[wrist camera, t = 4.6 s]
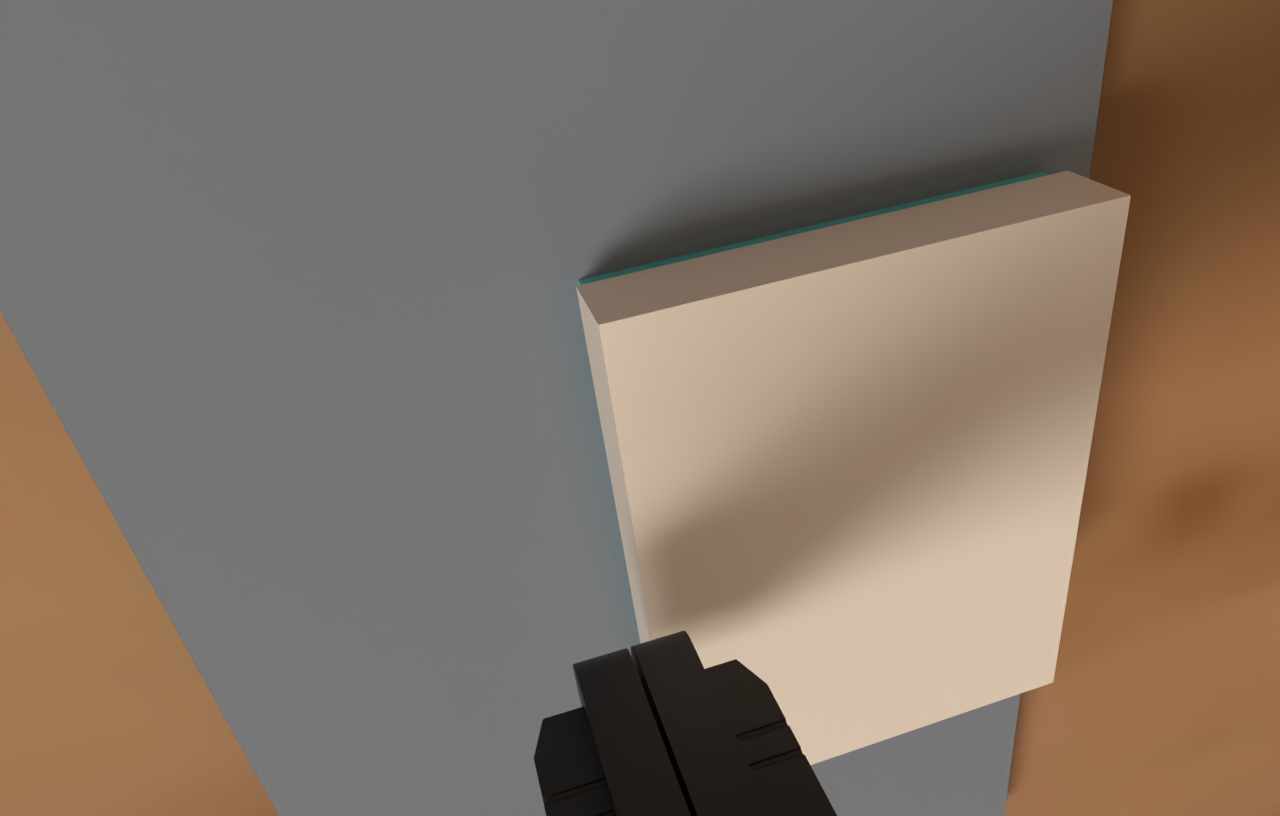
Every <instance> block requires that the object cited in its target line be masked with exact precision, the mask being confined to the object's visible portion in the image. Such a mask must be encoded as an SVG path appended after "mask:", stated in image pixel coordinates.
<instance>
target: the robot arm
mask: <svg viewBox="0 0 1280 816" xmlns="http://www.w3.org/2000/svg"><path fill="white" fill-rule="evenodd" d="M573 670H574V675H575V679H576V684H577V688H578V693H579V697H580V701H581V706H582V707H580V708H577V709H574V710H570V711H567V712H564V713H561V714H557V715H554V716H551V717H548V718H544V719H543V721H542V725H541V729H540V733H539V738H538V742H537V746H536V750H535V755H534V762H535V766H536V771H537V776H538V780H539V785H540V789H541V794H542V798H543V802H544V808H545V812H546V816H837V814H836V813H835V811H834V809H833V807H832V805H831V803H830V801H829V799H828V797H827V796H826V794H825V792H824V790H823V788H822V786H821V784H820V782H819V780H818V779H817V777H816V775H815V773H814V771H813V769H812V767H811V765H810V764H809V762H808V760H807V758H806V756H805V754H804V755H803V753H802V751H801V747H800V745H799V743H798V741H797V739H796V737H795V735H794V733H793V732H792V730H791V728H790V726H788V725H787V722H786V718H785V716H784V715H783V713H782V711H781V709H780V707H779V705H778V703H777V701H776V699H775V698H774V696H773V694H772V692H771V690H770V688H769V686H768V684H766V683H765V682H764V681H763V680H762V679H760V678H759V677H758V676H757V675H755V674H754V673H753V672H752V671H750V670H749V669H748V668H747V667H745V666H744V665H743V664H742V663H740V662H739V661H738V660H737V659H735V660H732V661H728V662H725V663H722V664H719V665H715V666H712V667H709V668H706V669H704V667H703V665H702V663H701V660H700V658H699V656H698V654H697V652H696V650H695V647H694V645H693V643H692V641H691V639H690V637H689V635H688V634H687V632H686V631H681V632H677V633H674V634H671V635H667V636H664V637H661V638H657V639H654V640H651V641H647V642H644V643H641V644H637V645H634V646H631V655H630V652H629V650H628V649H627V648H625V649H621V650H618V651H615V652H611V653H608V654H605V655H601V656H598V657H595V658H591V659H588V660H585V661H581V662H578V663H575V664H573Z"/></svg>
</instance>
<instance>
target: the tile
mask: <svg viewBox="0 0 1280 816" xmlns="http://www.w3.org/2000/svg"><path fill="white" fill-rule="evenodd" d="M1130 198H1131V195H1129V194H1126V193H1124V192H1121V191H1119V190H1116V189H1114V188H1111V187H1109V186H1106V185H1103V184H1101V183H1098V182H1096V181H1093V180H1091V179H1088V178H1086V177H1083V176H1081V175H1078V174H1076V173H1073V172H1071V171H1064V172H1059V173H1055V174H1051V175H1050V174H1047V173H1045V172H1038V173H1033V174H1029V175H1025V176H1021V177H1016V178H1012V179H1008V180H1004V181H999V182H995V183H991V184H987V185H982V186H978V187H974V188H969V189H965V190H961V191H957V192H952V193H948V194H944V195H940V196H935V197H931V198H927V199H922V200H918V201H914V202H910V203H905V204H901V205H897V206H893V207H888V208H884V209H880V210H876V211H871V212H867V213H863V214H858V215H854V216H850V217H846V218H841V219H837V220H833V221H829V222H824V223H820V224H816V225H811V226H807V227H803V228H799V229H794V230H790V231H786V232H782V233H777V234H773V235H769V236H764V237H760V238H756V239H752V240H747V241H743V242H739V243H735V244H730V245H726V246H722V247H718V248H713V249H709V250H705V251H700V252H696V253H692V254H688V255H683V256H679V257H675V258H671V259H666V260H662V261H658V262H653V263H649V264H645V265H641V266H636V267H632V268H628V269H624V270H619V271H615V272H611V273H606V274H602V275H598V276H594V277H589V278H585V279H581V280H578V282H579V286H576V289H577V295H578V300H579V306H580V311H581V317H582V322H583V328H584V333H585V339H586V345H587V350H588V356H589V361H590V367H591V372H592V378H593V383H594V389H595V394H596V400H597V405H598V411H599V416H600V422H601V428H602V433H603V439H604V444H605V450H606V455H607V461H608V466H609V472H610V477H611V483H612V488H613V494H614V499H615V505H616V511H617V516H618V522H619V527H620V533H621V538H622V544H623V549H624V555H625V560H626V566H627V571H628V577H629V583H630V588H631V594H632V599H633V605H634V610H635V616H636V621H637V627H638V632H639V638H640V643H644V642H647V641H651V640H654V639H657V638H661V637H664V636H667V635H671V634H674V633H677V632H681V631H686V632H687V634H688V635H689V637H690V639H691V641H692V643H693V645H694V647H695V650H696V652H697V654H698V656H699V658H700V660H701V663H702V665H703V667H704V669H706V668H709V667H712V666H715V665H719V664H722V663H725V662H728V661H732V660H735V659H737V660H738V661H739V662H740V663H742V664H743V665H744V666H745V667H747V668H748V669H749V670H750V671H752V672H753V673H754V674H755V675H757V676H758V677H759V678H760V679H762V680H763V681H764V682H765V683H766V684H768V686H769V688H770V690H771V692H772V694H773V696H774V698H775V699H776V701H777V703H778V705H779V707H780V709H781V711H782V713H783V715H784V716H785V718H786V722H787V725H788V726H790V728H791V730H792V732H793V733H794V735H795V737H796V739H797V741H798V743H799V745H800V747H801V751H802V753H803V755H804V754H805V756H806V758H807V760H808V762H809V764H810V765H813V764H816V763H819V762H822V761H824V760H827V759H830V758H833V757H836V756H839V755H842V754H845V753H848V752H851V751H854V750H857V749H860V748H863V747H865V746H868V745H871V744H874V743H877V742H880V741H883V740H886V739H889V738H892V737H895V736H898V735H901V734H904V733H906V732H909V731H912V730H915V729H918V728H921V727H924V726H927V725H930V724H933V723H936V722H939V721H942V720H945V719H947V718H950V717H953V716H956V715H959V714H962V713H965V712H968V711H971V710H974V709H977V708H980V707H983V706H986V705H988V704H991V703H994V702H997V701H1000V700H1003V699H1006V698H1009V697H1012V696H1015V695H1018V694H1021V693H1024V692H1027V691H1029V690H1032V689H1035V688H1038V687H1041V686H1044V685H1047V684H1050V683H1053V680H1054V674H1055V667H1056V661H1057V655H1058V649H1059V642H1060V636H1061V630H1062V624H1063V617H1064V611H1065V605H1066V599H1067V592H1068V586H1069V580H1070V574H1071V567H1072V561H1073V555H1074V549H1075V542H1076V536H1077V530H1078V524H1079V517H1080V511H1081V505H1082V499H1083V492H1084V486H1085V480H1086V474H1087V467H1088V461H1089V455H1090V449H1091V442H1092V436H1093V430H1094V424H1095V417H1096V411H1097V405H1098V399H1099V392H1100V386H1101V380H1102V373H1103V367H1104V361H1105V355H1106V348H1107V342H1108V336H1109V330H1110V323H1111V317H1112V311H1113V305H1114V298H1115V292H1116V286H1117V280H1118V273H1119V267H1120V261H1121V255H1122V248H1123V242H1124V236H1125V230H1126V223H1127V217H1128V211H1129V205H1130Z"/></svg>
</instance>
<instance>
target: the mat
mask: <svg viewBox="0 0 1280 816" xmlns="http://www.w3.org/2000/svg"><path fill="white" fill-rule="evenodd" d="M1112 6H1113V0H0V311H1V313H2V315H3V316H4V318H5V320H6V322H7V324H8V326H9V327H10V329H11V331H12V333H13V335H14V336H15V338H16V340H17V342H18V344H19V345H20V347H21V349H22V351H23V353H24V355H25V356H26V358H27V360H28V362H29V364H30V365H31V367H32V369H33V371H34V373H35V374H36V376H37V378H38V380H39V382H40V384H41V385H42V387H43V389H44V391H45V393H46V394H47V396H48V398H49V400H50V402H51V403H52V405H53V407H54V409H55V411H56V413H57V414H58V416H59V418H60V420H61V422H62V423H63V425H64V427H65V429H66V431H67V432H68V434H69V436H70V438H71V440H72V441H73V443H74V445H75V447H76V449H77V451H78V452H79V454H80V456H81V458H82V460H83V461H84V463H85V465H86V467H87V469H88V470H89V472H90V474H91V476H92V478H93V480H94V481H95V483H96V485H97V487H98V489H99V490H100V492H101V494H102V496H103V498H104V499H105V501H106V503H107V505H108V507H109V509H110V510H111V512H112V514H113V516H114V518H115V519H116V521H117V523H118V525H119V527H120V528H121V530H122V532H123V534H124V536H125V538H126V539H127V541H128V543H129V545H130V547H131V548H132V550H133V552H134V554H135V556H136V557H137V559H138V561H139V563H140V565H141V567H142V568H143V570H144V572H145V574H146V576H147V577H148V579H149V581H150V583H151V585H152V586H153V588H154V590H155V592H156V594H157V596H158V597H159V599H160V601H161V603H162V605H163V606H164V608H165V610H166V612H167V614H168V615H169V617H170V619H171V621H172V623H173V625H174V626H175V628H176V630H177V632H178V634H179V635H180V637H181V639H182V641H183V643H184V644H185V646H186V648H187V650H188V652H189V653H190V655H191V657H192V659H193V661H194V663H195V664H196V666H197V668H198V670H199V672H200V673H201V675H202V677H203V679H204V681H205V682H206V684H207V686H208V688H209V690H210V692H211V693H212V695H213V697H214V699H215V701H216V702H217V704H218V706H219V708H220V710H221V711H222V713H223V715H224V717H225V719H226V721H227V722H228V724H229V726H230V728H231V730H232V731H233V733H234V735H235V737H236V739H237V740H238V742H239V744H240V746H241V748H242V750H243V751H244V753H245V755H246V757H247V759H248V760H249V762H250V764H251V766H252V768H253V769H254V771H255V773H256V775H257V777H258V779H259V780H260V782H261V784H262V786H263V788H264V789H265V791H266V793H267V795H268V797H269V798H270V800H271V802H272V804H273V806H274V808H275V809H276V811H277V813H278V815H279V816H546V812H545V808H544V802H543V798H542V794H541V789H540V785H539V780H538V776H537V771H536V766H535V762H534V755H535V750H536V746H537V742H538V738H539V733H540V729H541V725H542V721H543V719H544V718H548V717H551V716H554V715H557V714H561V713H564V712H567V711H570V710H574V709H577V708H580V707H582V706H581V701H580V697H579V693H578V688H577V684H576V679H575V675H574V670H573V664H575V663H578V662H581V661H585V660H588V659H591V658H595V657H598V656H601V655H605V654H608V653H611V652H615V651H618V650H621V649H625V648H627V649H628V650H629V652H630V655H631V646H634V645H637V644H641V643H640V638H639V632H638V627H637V621H636V616H635V610H634V605H633V599H632V594H631V588H630V583H629V577H628V571H627V566H626V560H625V555H624V549H623V544H622V538H621V533H620V527H619V522H618V516H617V511H616V505H615V499H614V494H613V488H612V483H611V477H610V472H609V466H608V461H607V455H606V450H605V444H604V439H603V433H602V428H601V422H600V416H599V411H598V405H597V400H596V394H595V389H594V383H593V378H592V372H591V367H590V361H589V356H588V350H587V345H586V339H585V333H584V328H583V322H582V317H581V311H580V306H579V300H578V295H577V289H576V286H579V282H578V280H581V279H585V278H589V277H594V276H598V275H602V274H606V273H611V272H615V271H619V270H624V269H628V268H632V267H636V266H641V265H645V264H649V263H653V262H658V261H662V260H666V259H671V258H675V257H679V256H683V255H688V254H692V253H696V252H700V251H705V250H709V249H713V248H718V247H722V246H726V245H730V244H735V243H739V242H743V241H747V240H752V239H756V238H760V237H764V236H769V235H773V234H777V233H782V232H786V231H790V230H794V229H799V228H803V227H807V226H811V225H816V224H820V223H824V222H829V221H833V220H837V219H841V218H846V217H850V216H854V215H858V214H863V213H867V212H871V211H876V210H880V209H884V208H888V207H893V206H897V205H901V204H905V203H910V202H914V201H918V200H922V199H927V198H931V197H935V196H940V195H944V194H948V193H952V192H957V191H961V190H965V189H969V188H974V187H978V186H982V185H987V184H991V183H995V182H999V181H1004V180H1008V179H1012V178H1016V177H1021V176H1025V175H1029V174H1033V173H1038V172H1045V173H1047V174H1050V175H1051V174H1055V173H1059V172H1064V171H1071V172H1073V173H1076V174H1078V175H1081V176H1083V177H1086V178H1088V179H1089V178H1090V170H1091V163H1092V155H1093V148H1094V140H1095V133H1096V125H1097V118H1098V110H1099V103H1100V95H1101V88H1102V80H1103V73H1104V66H1105V58H1106V51H1107V43H1108V36H1109V28H1110V21H1111V13H1112ZM1019 701H1020V694H1018V695H1015V696H1012V697H1009V698H1006V699H1003V700H1000V701H997V702H994V703H991V704H988V705H986V706H983V707H980V708H977V709H974V710H971V711H968V712H965V713H962V714H959V715H956V716H953V717H950V718H947V719H945V720H942V721H939V722H936V723H933V724H930V725H927V726H924V727H921V728H918V729H915V730H912V731H909V732H906V733H904V734H901V735H898V736H895V737H892V738H889V739H886V740H883V741H880V742H877V743H874V744H871V745H868V746H865V747H863V748H860V749H857V750H854V751H851V752H848V753H845V754H842V755H839V756H836V757H833V758H830V759H827V760H824V761H822V762H819V763H816V764H813V765H811V767H812V769H813V771H814V773H815V775H816V777H817V779H818V780H819V782H820V784H821V786H822V788H823V790H824V792H825V794H826V796H827V797H828V799H829V801H830V803H831V805H832V807H833V809H834V811H835V813H836V814H837V816H1004V813H1005V806H1006V798H1007V791H1008V783H1009V776H1010V768H1011V761H1012V753H1013V746H1014V738H1015V731H1016V723H1017V716H1018V709H1019Z"/></svg>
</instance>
